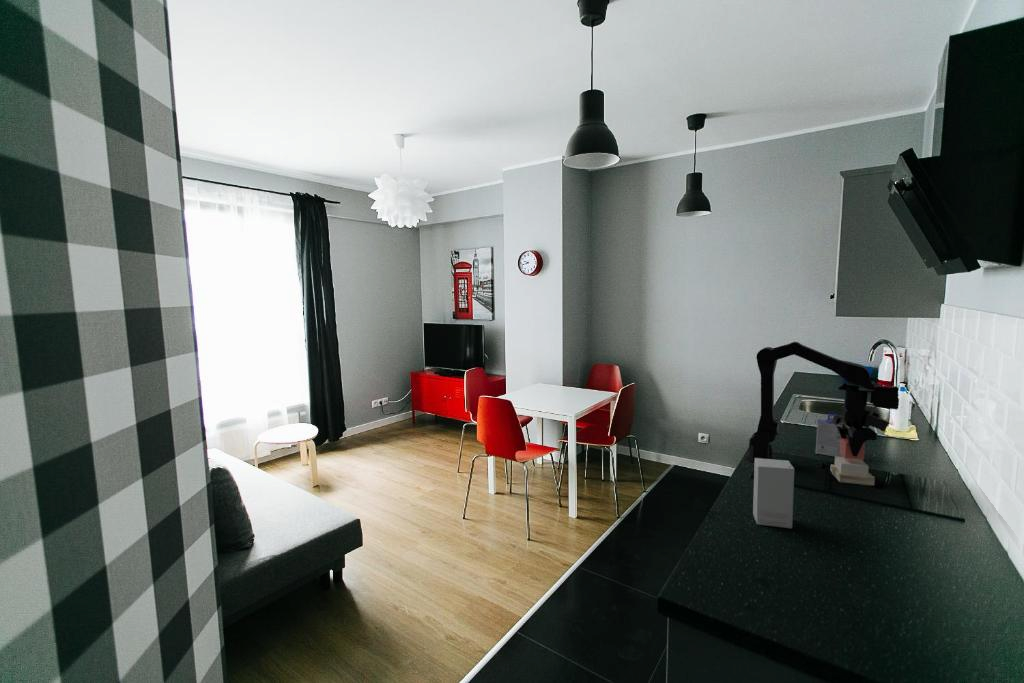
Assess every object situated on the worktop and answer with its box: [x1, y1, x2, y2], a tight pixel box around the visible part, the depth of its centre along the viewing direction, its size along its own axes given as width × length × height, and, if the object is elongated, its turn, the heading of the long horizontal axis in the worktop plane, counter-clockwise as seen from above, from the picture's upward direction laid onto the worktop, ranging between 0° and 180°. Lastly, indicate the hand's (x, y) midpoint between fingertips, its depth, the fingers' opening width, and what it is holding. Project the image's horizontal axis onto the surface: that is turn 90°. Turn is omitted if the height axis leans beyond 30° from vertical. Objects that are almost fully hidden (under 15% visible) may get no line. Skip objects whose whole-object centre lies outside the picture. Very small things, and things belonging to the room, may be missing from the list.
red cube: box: [840, 438, 866, 461], centre depth 148 cm, size 5×5×5 cm
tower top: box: [834, 456, 870, 476], centre depth 148 cm, size 7×7×3 cm
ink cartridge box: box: [814, 413, 843, 457], centre depth 169 cm, size 10×6×14 cm, turn 55°
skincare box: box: [752, 458, 796, 529], centre depth 119 cm, size 8×7×16 cm
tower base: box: [829, 463, 876, 486], centre depth 148 cm, size 9×9×3 cm
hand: (851, 453), depth 148 cm, fingers closed on red cube, 5 cm apart
